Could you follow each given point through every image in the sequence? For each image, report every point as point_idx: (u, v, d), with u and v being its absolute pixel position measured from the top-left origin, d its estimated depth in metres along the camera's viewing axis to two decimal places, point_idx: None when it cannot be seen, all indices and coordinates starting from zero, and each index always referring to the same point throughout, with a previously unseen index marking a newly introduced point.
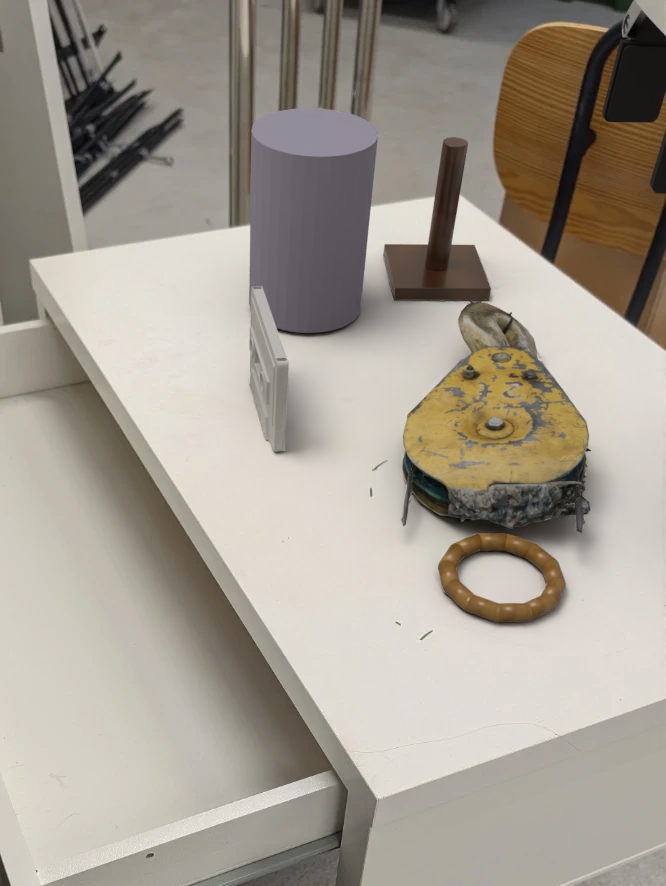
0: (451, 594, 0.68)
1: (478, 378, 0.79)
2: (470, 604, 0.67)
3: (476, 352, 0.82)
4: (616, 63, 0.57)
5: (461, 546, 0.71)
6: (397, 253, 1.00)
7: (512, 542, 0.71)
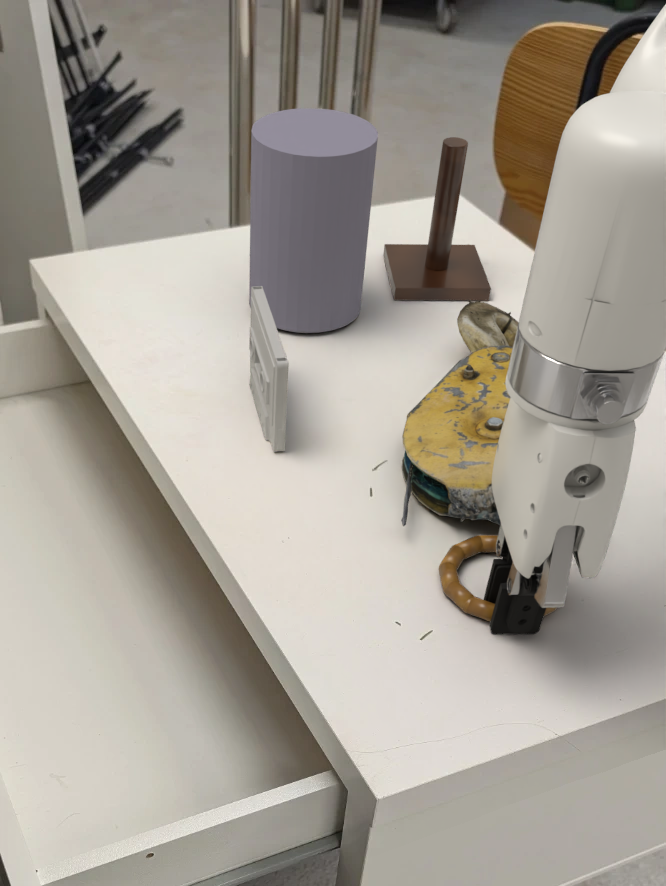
0: (451, 596, 0.68)
1: (477, 378, 0.79)
2: (470, 606, 0.67)
3: (475, 352, 0.82)
4: (491, 574, 0.66)
5: (462, 547, 0.71)
6: (397, 253, 1.00)
7: None
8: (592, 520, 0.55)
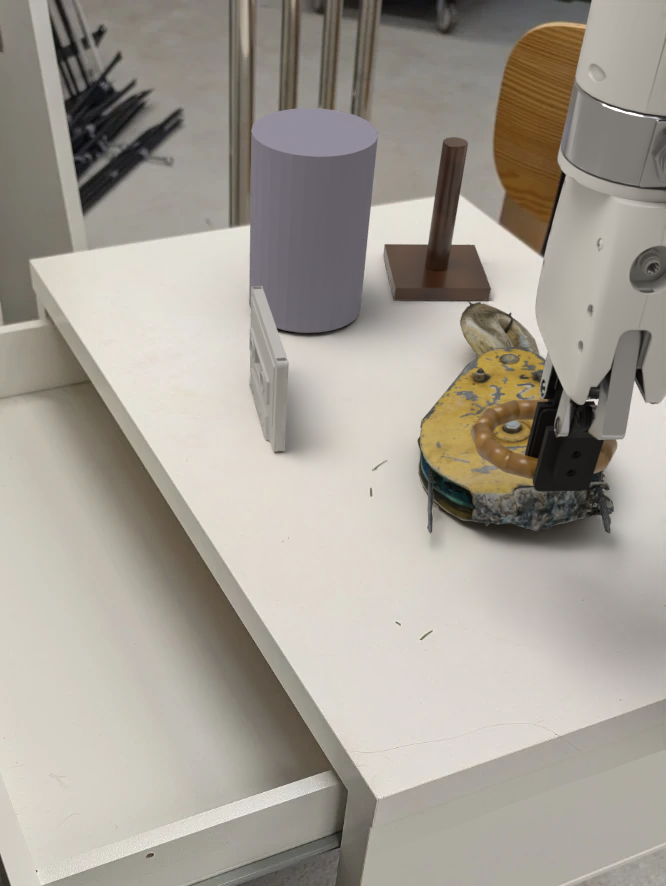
0: (487, 454, 0.60)
1: (489, 381, 0.79)
2: (510, 462, 0.59)
3: (483, 354, 0.82)
4: (534, 421, 0.58)
5: (496, 410, 0.63)
6: (397, 253, 1.00)
7: None
8: (661, 322, 0.47)
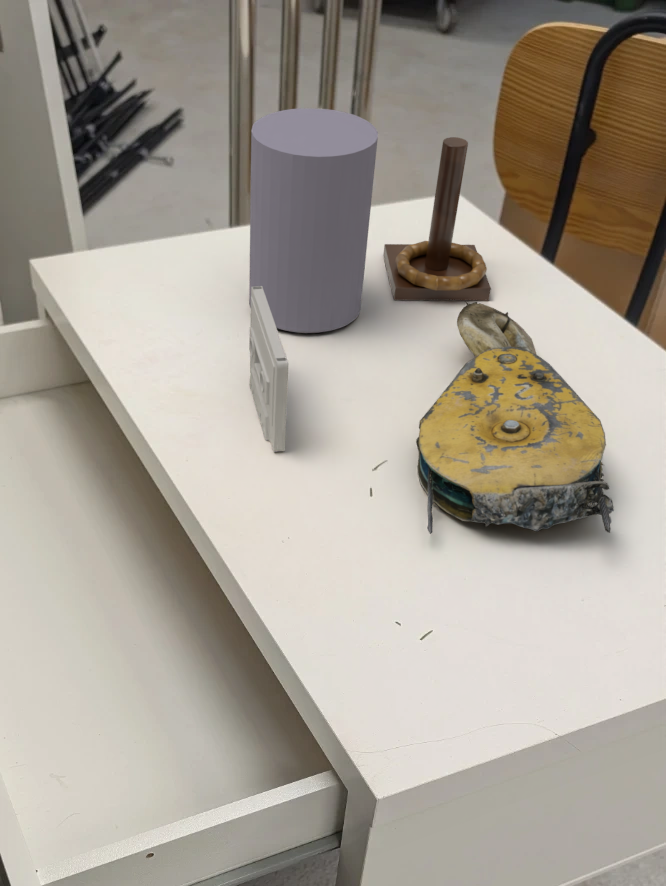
0: (404, 273, 0.95)
1: (487, 381, 0.79)
2: (417, 277, 0.94)
3: (481, 354, 0.82)
4: None
5: (412, 247, 0.98)
6: (397, 253, 1.00)
7: None
8: None
